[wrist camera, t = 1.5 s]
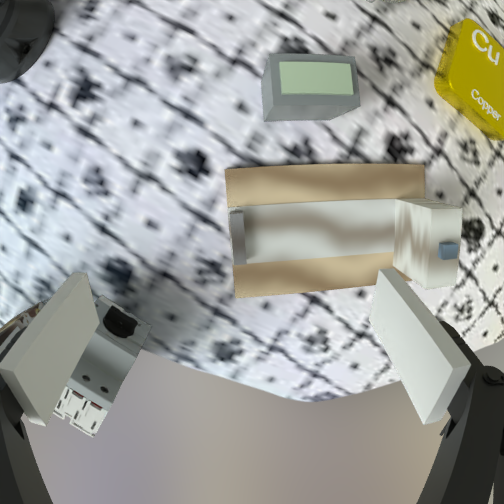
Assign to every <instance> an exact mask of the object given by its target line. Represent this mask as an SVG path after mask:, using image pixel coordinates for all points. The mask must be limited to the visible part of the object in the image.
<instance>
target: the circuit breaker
mask: <svg viewBox="0 0 504 504" xmlns="http://www.w3.org/2000/svg"><path fill="white" fill-rule="evenodd" d="M94 304H95V308H96V311H97V315H98V318H99V322H100V323H99V325H98V327H97V328H96V330H95V332H94V334H93V336H92V337H91V339H90V341H89V343H88V345H87V346H86V348H85V350H84V352H83V354H82V356H81V358H80V359H79V361H78V363H77V365H76V367H75V369H74V371H73V373H72V375H71V377H70V379H69V381H68V383H67V385H66V387H65V389H64V391H63V393H62V395H61V397H60V399H59V401H58V403H57V405H56V407H55V409H54V411H53V413H54V414H55V415H57V416H58V417H60V418H61V419H63V420H64V419H65V417H66V416H68V417H70V418H71V421H70V424H71V425H73V426H74V427H76V428H77V429H79V430H81V431H82V432H84V433H86V434H88V435H89V436H91V437H94V436H95V435H94V434H92V433H93V432H94V433H96V432H97V430H98V429H99V427H100V425H101V423H102V421H103V420H104V418H105V416H106V414H107V412H108V411H109V409H110V407H111V405H112V403H113V401H114V399H115V397H116V395H117V393H118V391H119V389H120V386H121V384H122V382H123V381H124V379H125V377H126V375H127V374H128V372H129V370H130V368H131V366H132V365H133V363H134V361H135V360H136V358H137V356H138V354H139V352H140V350H141V348H142V346H143V344H144V341H145V339H146V337H147V335H148V333H149V331H150V329H151V327H152V326H151V325H149V324H147V323H146V322H144V321H143V320H141V319H139V318H138V317H136V316H134V315H133V314H131V313H130V312H129V313H127V312H125V309H123V308H122V307H120V306H119V305H117V304H116V303H114V302H112V301H111V300H109V299H108V298H106V297H105V296H103V295H101V296H100V297H99V298H98V299H97V300H96V302H95V303H94ZM55 410H56V411H55ZM57 411H58V412H59V413H58V412H57ZM60 413H61V414H60ZM76 423H77V424H78V425H77V424H76ZM79 425H80V426H79ZM81 426H82V427H81Z"/></svg>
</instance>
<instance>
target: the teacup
mask: <svg viewBox="0 0 504 504" xmlns="http://www.w3.org/2000/svg"><path fill="white" fill-rule="evenodd" d="M366 1H368V2H370V3H372V2H374V1H375V0H366ZM382 1H385V2H391V3H398V2H403V1H406V0H382Z"/></svg>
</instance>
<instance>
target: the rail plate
mask: <svg viewBox="0 0 504 504" xmlns="http://www.w3.org/2000/svg"><path fill="white" fill-rule="evenodd" d="M225 180H226V193H227V206H228V219H229V231H230V243H231V254H232V265H233V276H234V287H235V298H244V297H257V296H269V295H281V294H292V293H303V292H314V291H324V290H334V289H343V288H353V287H362V286H370V285H376V283H377V277H378V272H379V269H391V268H394V269H395V270H396V271H397V273H398V274H399V275H400V276H401V277H402V278H403V279H404V281H411V280H413V281H414V282H416V283H417V284H419V285H420V286H421V287H423V288H424V289H425V290H428V289H434V288H441V287H447V286H453V285H456V278H457V270H458V262H459V253H460V242H461V228H462V210H463V208H459V207H455V206H452V205H448V204H444V203H440V202H436V201H432V200H428V199H425V172H424V165H417V164H310V165H285V166H266V167H250V168H236V169H225Z"/></svg>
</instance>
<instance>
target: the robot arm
mask: <svg viewBox="0 0 504 504" xmlns="http://www.w3.org/2000/svg"><path fill="white" fill-rule="evenodd" d="M54 18H55V15H54V9H53V6H52V4H51V3H50V2H49V1H48V0H0V83H7V82H10V81H12V80H14V79H16V78H18V77H19V76H21V75H22V74H23V73H24V72H26V71H27V70H28V69H29V68H30V67H31V66H32V65H33V64H34V62H35V61H36V60H37V59H38V57H39V56H40V54H41V53H42V51H43V50H44V48H45V46H46V44H47V42H48V40H49V38H50V36H51V33H52V30H53V26H54ZM369 321H370V323H371V324H372V326H373V328H374V330H375V332H376V334H377V335H378V337H379V339H380V341H381V343H382V345H383V346H384V348H385V350H386V352H387V354H388V356H389V358H390V360H391V361H392V363H393V365H394V367H395V369H396V371H397V373H398V375H399V377H400V379H401V381H402V383H403V385H404V387H405V389H406V390H407V392H408V395H409V397H410V399H411V401H412V403H413V405H414V407H415V409H416V411H417V413H418V415H419V417H420V419H421V421H422V423H423V425H425V424H429V423H433V422H436V421H440V420H441V419H442V417H443V415H444V414H445V412H446V410H448V412H449V413H450V415H451V418H450V419H449V421H448V422H447V424H446V426H445V427H444V429H443V430H442V432H441V433H440V435H441V436H442V435H443V434H444V436H443V438H442V441H441V444H440V447H439V450H438V453H437V456H436V459H435V461H434V464H433V466H432V469H431V472H430V474H429V476H428V479H427V481H426V484H425V486H424V488H423V491H422V493H421V495H420V497H419V499H418V502H417V504H488V501H489V497H490V494H491V490H492V486H493V482H494V494H493V497H494V498H493V504H504V373H502V372H501V371H500V370H499V369H497V368H495V367H493V366H483V364H482V363H481V362H480V360H479V359H478V358H477V357H476V355H475V354H474V353H473V351H472V350H471V349H470V347H469V346H468V345H467V344H465V341H464V340H463V339H462V337H461V338H460V335H459V334H458V332H457V331H456V330H455V329H454V328H453V327H452V326H450V325H449V324H448V323H446V322H445V321H440V322H438V320H437V319H436V318H435V317H434V315H433V314H432V313H431V312H430V310H429V309H428V308H427V307H426V306H425V304H424V303H423V302H422V301H421V300H420V298H419V297H418V296H417V295H416V294H415V292H414V291H413V290H412V289H411V288H410V286H409V285H408V284H407V283H406V282H405V281H404V279H403V278H402V277H401V276H400V275H399V274H398V273H397V271H396V270H395V269H394V268H391V269H379V272H378V277H377V283H376V288H375V293H374V298H373V303H372V307H371V312H370V317H369ZM99 323H100V322H99V318H98V315H97V311H96V308H95V304H94V300H93V296H92V292H91V288H90V284H89V280H88V276H87V273H72V274H71V275H70V277H69V278H68V279H67V280H66V281H65V282H64V283H63V285H62V286H61V287H60V288H59V289H58V290H57V292H56V293H55V294H54V295H53V296H52V297H51V299H50V300H49V301H48V302H47V303H46V305H45V306H44V307H43V308H42V309H41V311H40V312H39V313H38V314H37V316H36V317H35V318H34V319H33V321H32V322H31V323H30V324H29V326H25V327H24V328H23V329H21V330H20V331H18V332H17V333H16V334H15V335H14V337H13V338H12V339H11V341H10V343H8V345H7V346H6V347H5V349H4V350H3V351H2V352H1V354H0V504H53V502H52V500H51V498H50V496H49V493H48V491H47V489H46V486H45V484H44V481H43V479H42V476H41V474H40V471H39V468H38V466H37V463H36V460H35V458H34V455H33V452H32V449H31V445H30V442H29V439H28V436H27V433H26V429H25V426H24V423H23V422H22V420H21V419H20V418H21V416H22V414H23V412H24V413H25V414H26V416H27V417H28V419H29V420H30V422H32V423H36V424H39V425H43V426H47V424H48V422H49V420H50V418H51V415H52V413H53V411H54V409H55V407H56V405H57V403H58V401H59V399H60V397H61V395H62V393H63V391H64V389H65V387H66V385H67V383H68V381H69V379H70V377H71V375H72V373H73V371H74V369H75V367H76V365H77V363H78V361H79V359H80V358H81V356H82V354H83V352H84V350H85V348H86V346H87V345H88V343H89V341H90V339H91V337H92V336H93V334H94V332H95V330H96V328H97V327H98V325H99Z"/></svg>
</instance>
